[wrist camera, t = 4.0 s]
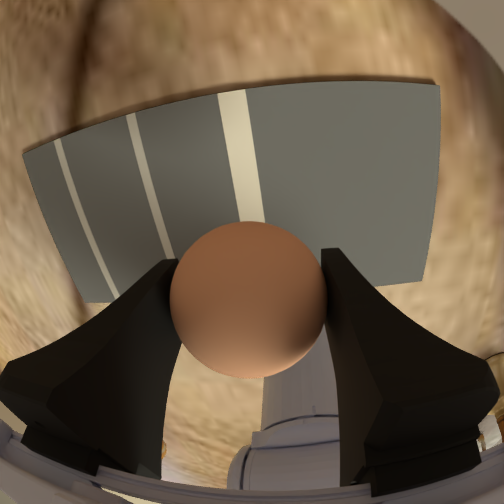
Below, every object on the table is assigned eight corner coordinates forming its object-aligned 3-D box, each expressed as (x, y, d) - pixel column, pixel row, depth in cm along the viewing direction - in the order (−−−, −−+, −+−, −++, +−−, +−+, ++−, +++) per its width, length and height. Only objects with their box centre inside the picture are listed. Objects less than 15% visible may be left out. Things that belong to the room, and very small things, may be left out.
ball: (319, 301, 13) (330, 403, 9) (204, 306, 14) (179, 403, 9) (317, 190, 10) (345, 283, 6) (176, 203, 11) (120, 293, 7)
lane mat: (420, 277, 21) (422, 281, 20) (86, 299, 25) (84, 303, 24) (436, 85, 13) (440, 85, 13) (25, 152, 17) (21, 154, 17)
